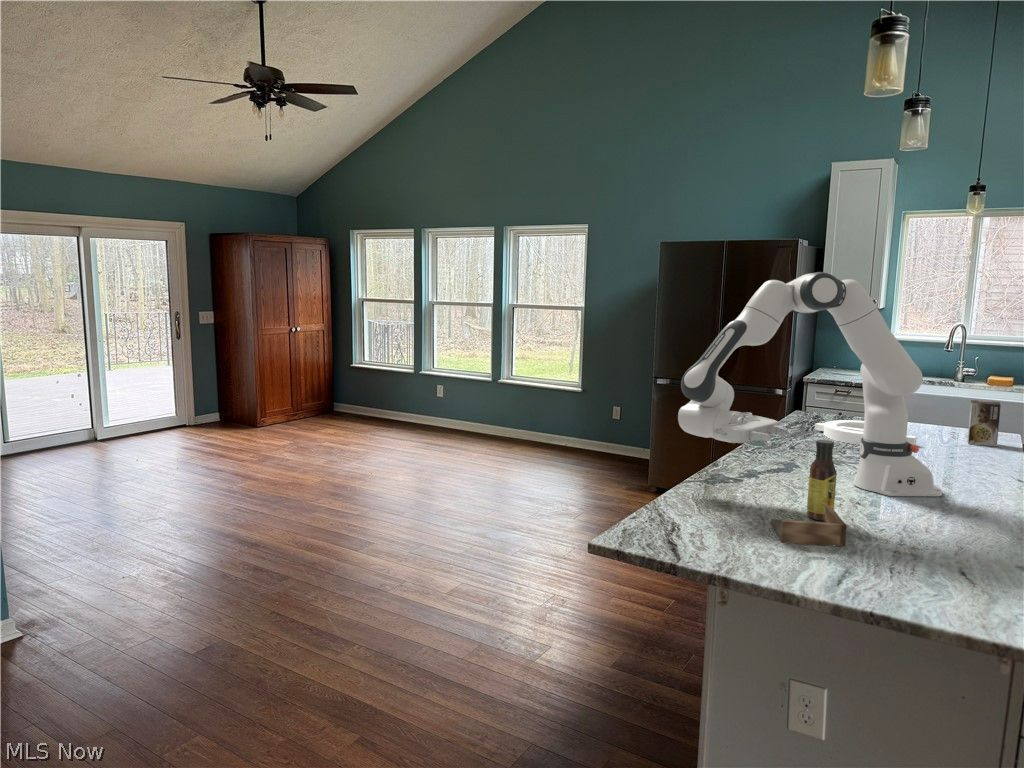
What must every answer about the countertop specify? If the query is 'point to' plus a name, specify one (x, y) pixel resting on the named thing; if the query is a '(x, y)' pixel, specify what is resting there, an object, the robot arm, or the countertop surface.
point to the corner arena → (813, 530)
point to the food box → (984, 423)
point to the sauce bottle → (821, 481)
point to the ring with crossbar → (848, 431)
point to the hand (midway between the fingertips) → (778, 435)
